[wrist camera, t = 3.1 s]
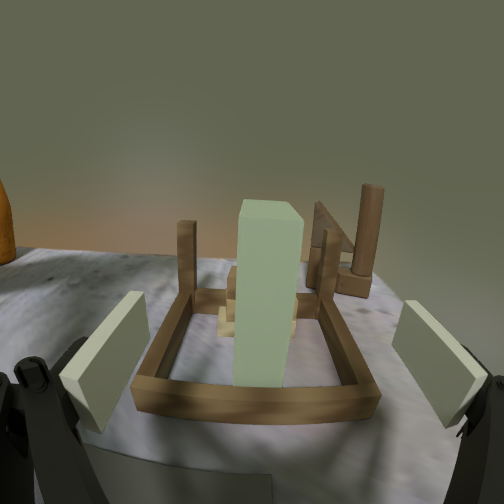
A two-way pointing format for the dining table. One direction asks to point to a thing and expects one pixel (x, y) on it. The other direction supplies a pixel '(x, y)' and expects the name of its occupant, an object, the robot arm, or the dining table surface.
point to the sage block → (265, 291)
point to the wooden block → (350, 244)
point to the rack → (255, 398)
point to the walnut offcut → (231, 283)
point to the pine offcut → (229, 327)
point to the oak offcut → (231, 309)
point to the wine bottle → (6, 229)
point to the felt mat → (173, 482)
